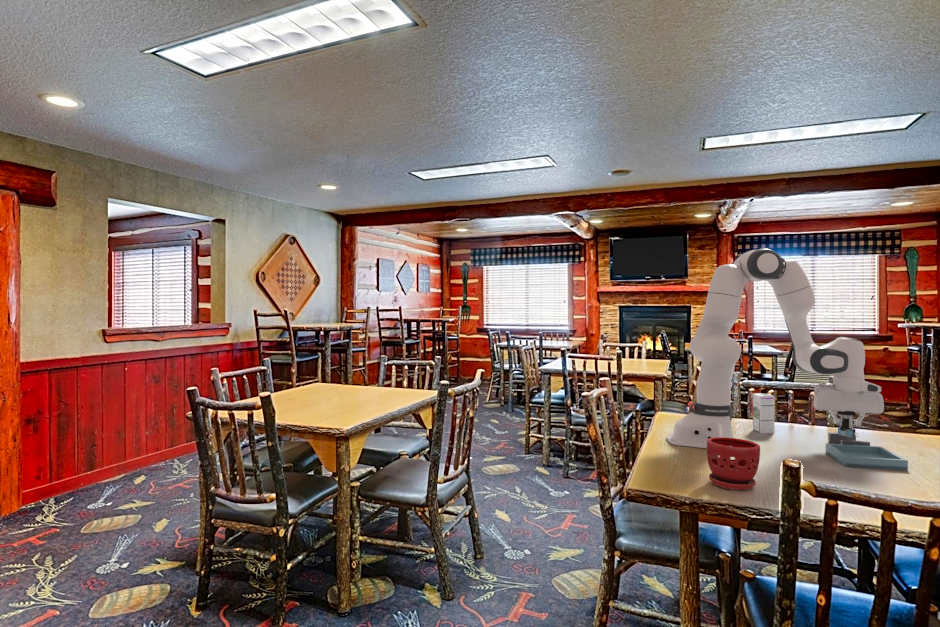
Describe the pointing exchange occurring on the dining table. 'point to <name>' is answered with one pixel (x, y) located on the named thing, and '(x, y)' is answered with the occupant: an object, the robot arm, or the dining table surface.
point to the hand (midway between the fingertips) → (847, 424)
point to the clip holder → (845, 440)
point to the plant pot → (733, 462)
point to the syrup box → (763, 413)
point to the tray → (866, 457)
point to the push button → (846, 424)
